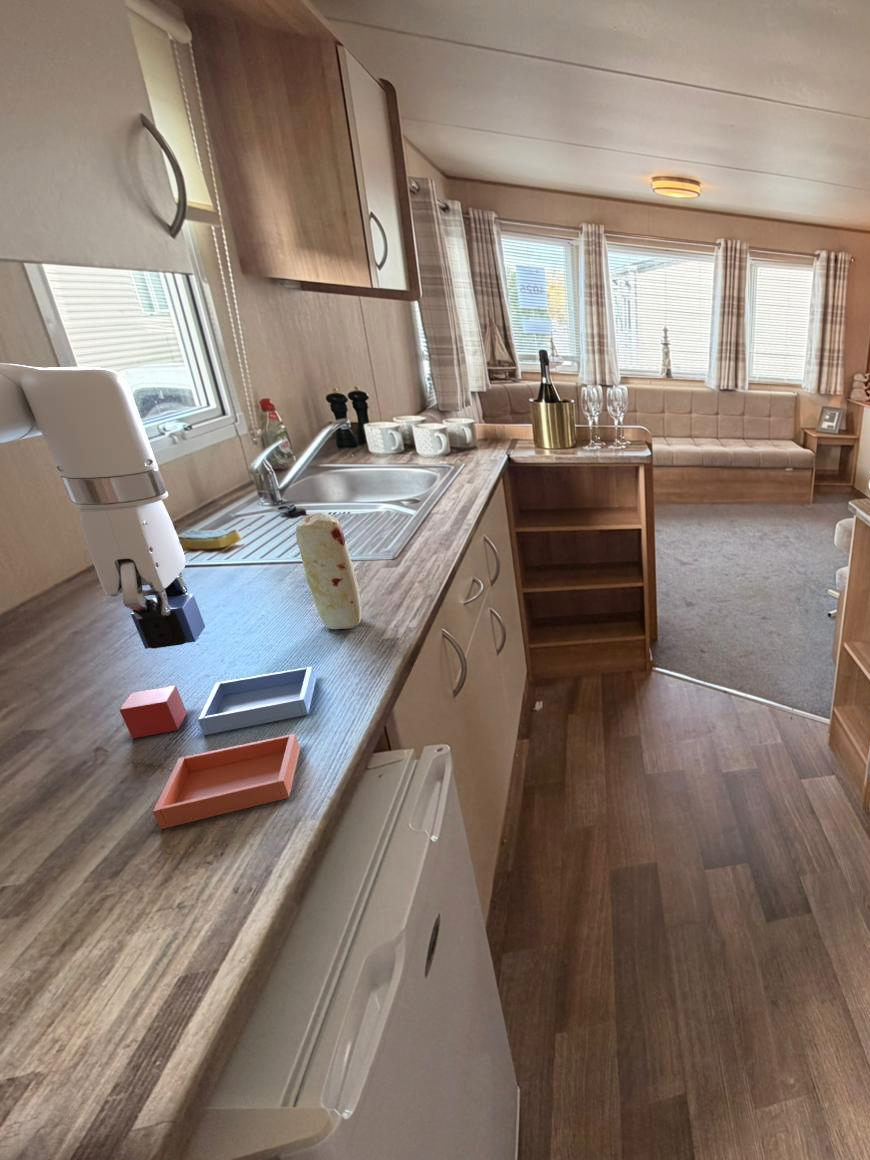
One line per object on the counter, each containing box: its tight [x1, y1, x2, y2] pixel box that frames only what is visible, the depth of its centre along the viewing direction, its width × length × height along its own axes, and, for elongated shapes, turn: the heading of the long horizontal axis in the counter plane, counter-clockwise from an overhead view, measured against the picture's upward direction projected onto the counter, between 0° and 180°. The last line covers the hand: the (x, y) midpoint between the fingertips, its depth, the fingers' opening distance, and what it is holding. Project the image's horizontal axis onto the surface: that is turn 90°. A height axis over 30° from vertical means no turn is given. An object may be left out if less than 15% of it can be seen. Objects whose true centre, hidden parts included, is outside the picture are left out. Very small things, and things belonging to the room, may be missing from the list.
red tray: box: [152, 733, 301, 830], centre depth 75 cm, size 11×10×2 cm
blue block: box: [130, 593, 206, 650], centre depth 76 cm, size 4×4×4 cm
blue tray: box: [197, 666, 317, 736], centre depth 90 cm, size 11×10×2 cm
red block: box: [119, 684, 188, 740], centre depth 84 cm, size 4×4×4 cm
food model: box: [294, 512, 362, 630], centre depth 111 cm, size 10×7×20 cm
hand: (175, 634), depth 77 cm, fingers closed on blue block, 4 cm apart
